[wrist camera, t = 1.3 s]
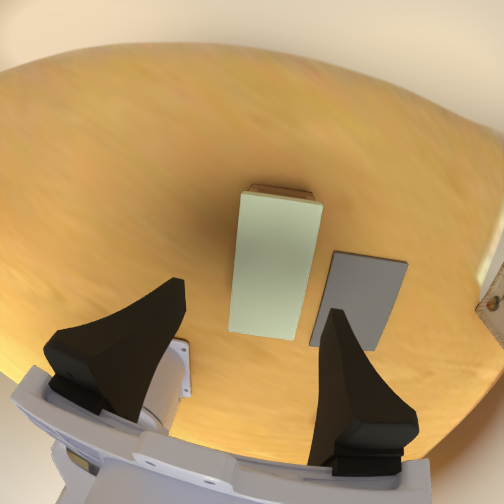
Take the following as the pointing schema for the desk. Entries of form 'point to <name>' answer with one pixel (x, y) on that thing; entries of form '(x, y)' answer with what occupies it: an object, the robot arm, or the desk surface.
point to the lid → (272, 263)
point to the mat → (360, 295)
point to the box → (282, 192)
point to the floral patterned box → (494, 308)
